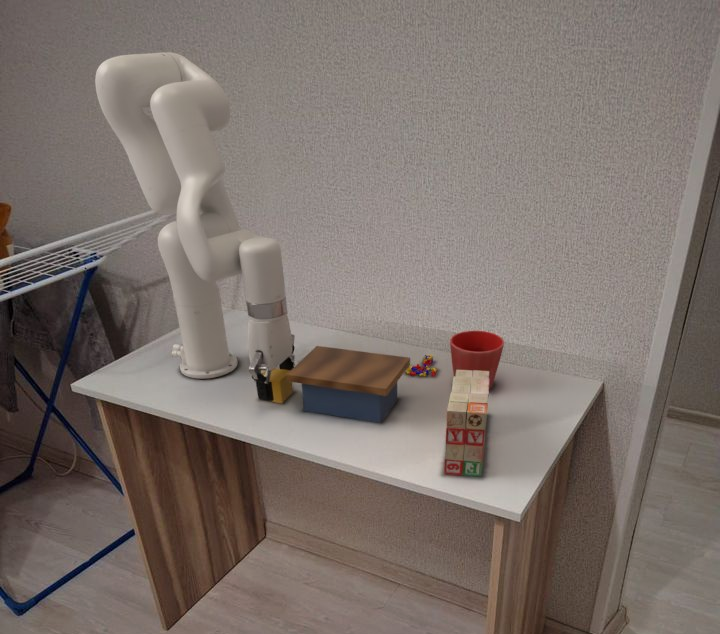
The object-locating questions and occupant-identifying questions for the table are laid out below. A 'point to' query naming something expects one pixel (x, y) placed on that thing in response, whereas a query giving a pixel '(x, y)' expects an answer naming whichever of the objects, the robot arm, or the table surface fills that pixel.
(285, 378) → the mustard block
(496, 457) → the table surface
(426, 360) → the building blocks
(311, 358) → the wooden board
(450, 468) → the stack of blocks
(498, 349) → the flower pot
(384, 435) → the table surface
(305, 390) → the blue box
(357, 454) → the table surface
